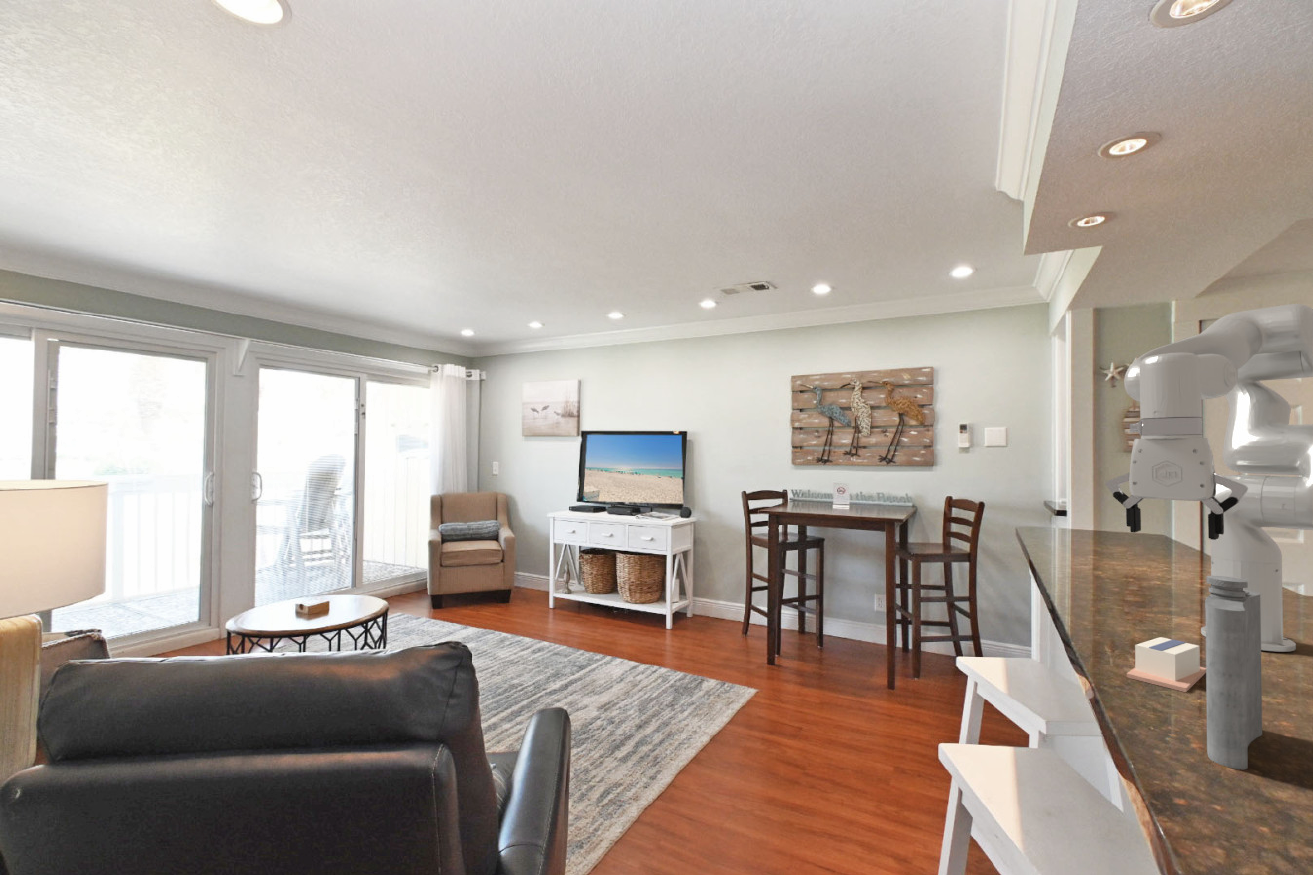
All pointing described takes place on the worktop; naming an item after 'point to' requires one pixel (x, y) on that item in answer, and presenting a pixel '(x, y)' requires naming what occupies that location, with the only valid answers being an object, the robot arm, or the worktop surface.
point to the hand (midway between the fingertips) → (1173, 534)
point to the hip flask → (1232, 670)
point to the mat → (1179, 685)
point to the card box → (1167, 658)
